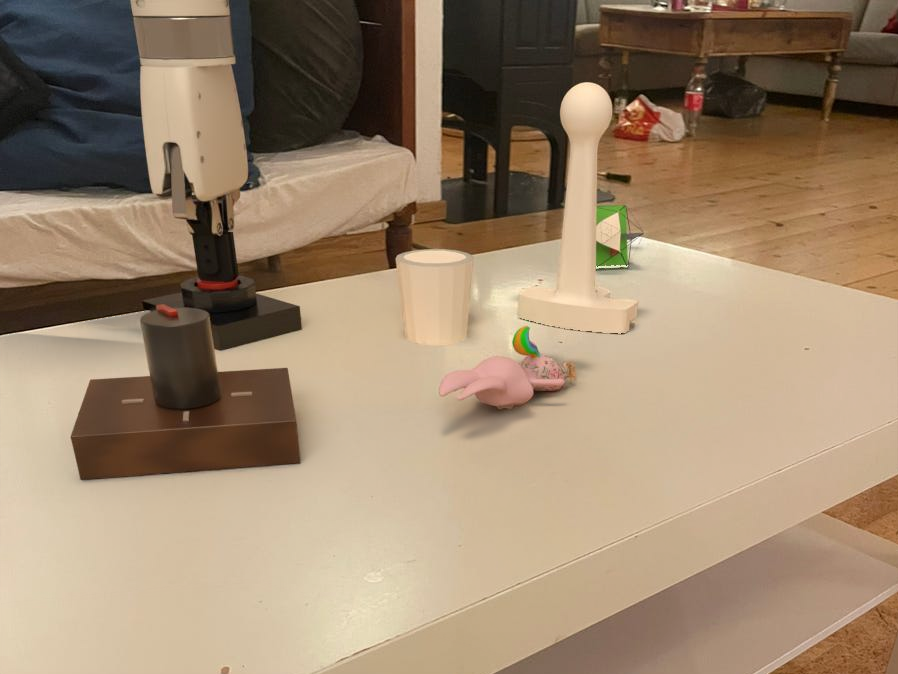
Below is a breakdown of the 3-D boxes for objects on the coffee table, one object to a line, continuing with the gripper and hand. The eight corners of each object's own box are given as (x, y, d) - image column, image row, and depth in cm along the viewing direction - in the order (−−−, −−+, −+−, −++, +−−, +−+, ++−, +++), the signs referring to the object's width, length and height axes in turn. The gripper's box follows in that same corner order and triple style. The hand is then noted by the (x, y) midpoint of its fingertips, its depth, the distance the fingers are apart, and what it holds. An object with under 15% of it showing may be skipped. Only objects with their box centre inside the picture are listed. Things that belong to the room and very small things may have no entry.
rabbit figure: (524, 389, 82) (412, 411, 71) (533, 314, 80) (418, 325, 68) (589, 405, 79) (483, 431, 68) (601, 328, 77) (492, 342, 65)
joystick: (511, 320, 95) (517, 81, 84) (545, 302, 100) (554, 75, 89) (619, 337, 90) (640, 87, 79) (648, 317, 96) (672, 81, 85)
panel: (80, 480, 63) (69, 433, 62) (98, 419, 72) (89, 377, 71) (300, 463, 66) (296, 417, 64) (291, 406, 75) (287, 365, 73)
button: (191, 299, 91) (188, 279, 90) (224, 291, 93) (222, 272, 92) (214, 306, 88) (211, 286, 88) (247, 298, 91) (245, 279, 90)
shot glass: (441, 352, 86) (440, 269, 82) (382, 338, 89) (379, 257, 86) (488, 334, 91) (489, 254, 87) (431, 321, 94) (429, 244, 90)
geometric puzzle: (566, 238, 116) (581, 186, 108) (622, 236, 117) (641, 184, 109) (578, 288, 113) (595, 238, 106) (635, 285, 114) (655, 236, 107)
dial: (232, 399, 67) (220, 313, 64) (172, 414, 65) (156, 325, 62) (202, 383, 70) (190, 299, 67) (143, 396, 68) (127, 310, 64)
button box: (145, 324, 93) (138, 280, 90) (226, 306, 98) (220, 264, 96) (220, 351, 86) (214, 304, 84) (302, 330, 91) (298, 285, 89)
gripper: (186, 39, 86) (217, 259, 96) (93, 47, 74) (140, 297, 84) (266, 40, 85) (289, 263, 95) (185, 48, 73) (221, 303, 83)
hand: (219, 278), depth 90 cm, fingers closed
